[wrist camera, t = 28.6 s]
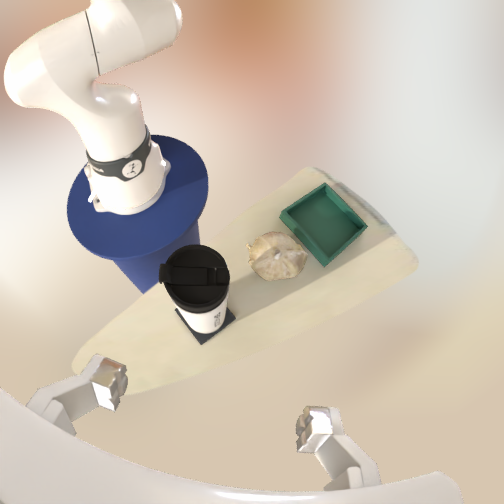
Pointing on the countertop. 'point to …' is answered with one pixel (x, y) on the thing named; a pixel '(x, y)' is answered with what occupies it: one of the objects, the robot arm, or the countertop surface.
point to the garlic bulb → (276, 256)
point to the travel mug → (197, 286)
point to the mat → (204, 337)
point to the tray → (323, 223)
